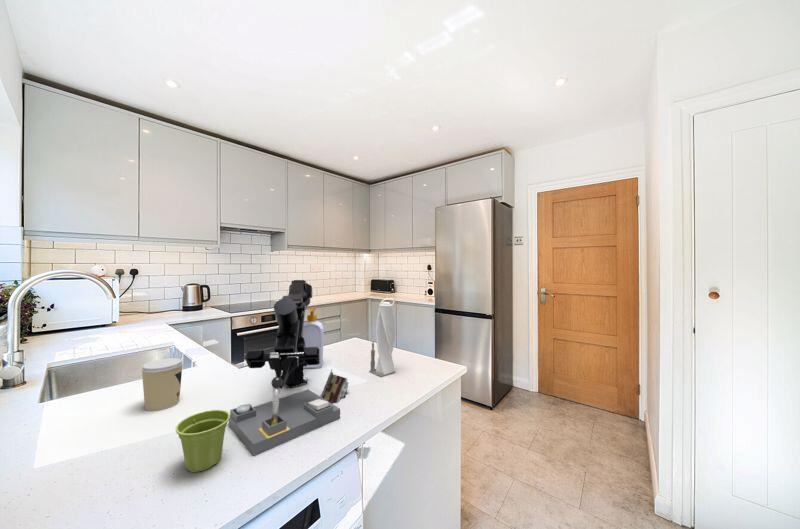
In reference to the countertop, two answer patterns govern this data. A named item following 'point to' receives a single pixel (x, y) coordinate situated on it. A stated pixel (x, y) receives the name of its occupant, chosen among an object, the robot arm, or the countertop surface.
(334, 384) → the chocolate cake
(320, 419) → the switch panel
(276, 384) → the toggle lever
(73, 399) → the countertop surface
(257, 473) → the countertop surface
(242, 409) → the push button
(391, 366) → the skyscraper
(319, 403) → the rocker switch
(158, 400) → the coffee cup
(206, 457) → the plant pot
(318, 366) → the soap bottle
